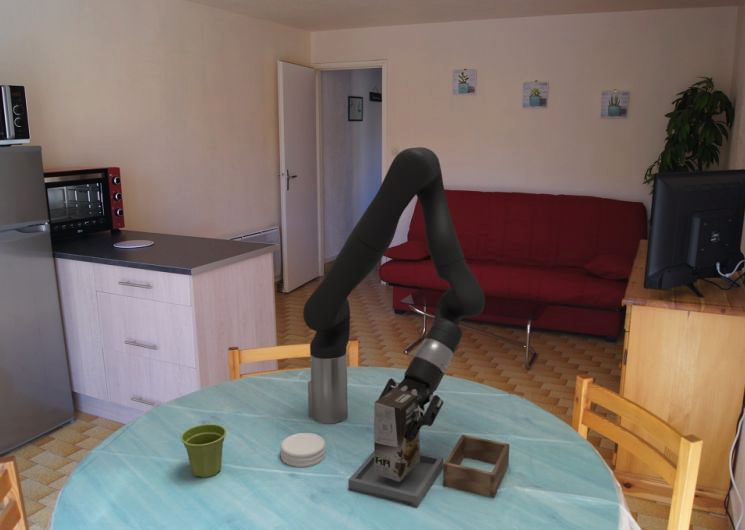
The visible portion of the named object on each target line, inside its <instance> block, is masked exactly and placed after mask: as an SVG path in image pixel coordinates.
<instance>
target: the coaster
mask: <svg viewBox="0 0 745 530" xmlns="http://www.w3.org/2000/svg"><path fill="white" fill-rule="evenodd" d="M325 441H326V440H325V439H324V438H323V437H321V436H320V435H319V434H317V433H316V434H315V433H311V432H309V433H308V432H301V433H294V434H291V435H289V436H287V437H285V439H283V440H282V441H281V443H280V457H281V461H282V462H283V463H285V464H286V465H288V466H291V467H296V468H305V467H307V468H308V467H311V466H312V467H313V466H315V465H317V464H319V463H320V462H322V461H323V460H324V459H325V457H326V442H325Z"/></svg>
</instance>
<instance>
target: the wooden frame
mask: <svg viewBox="0 0 745 530" xmlns="http://www.w3.org/2000/svg"><path fill="white" fill-rule="evenodd" d="M464 458H465V459H470V460H474V461H480V462H485V463H489V464H494V467H493V469H492V470H491V471H489V470H488V471H486V470H482V469H478V468H475V467H474V468H473V467H469V466H465V465H461V464H462V461H463V460H464ZM509 460H510V443H507V442H501V441H496V440H492V439H491V440H490V439H487V438H481V437H477V436H471V435H465V434H461V436H460V438H458V439H457V442H456V444H455V445H454V447H453V448H452V450H451V452H450V453H449V454H448V456H447V458H446V459H445V460H444V461H443V468H442V486H443V487H447V488H451V489H454V490H460V491H462V492H463V491H464V492H468V493H472V494H475V495H480V496H484V497H488V498H492V499H495V497H496V494H497V491H498V489H499V487H500V485H501V483H502V480H503V479H504V475H505V473H506V471H507V470H508V467H509V465H510V464H509Z"/></svg>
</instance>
